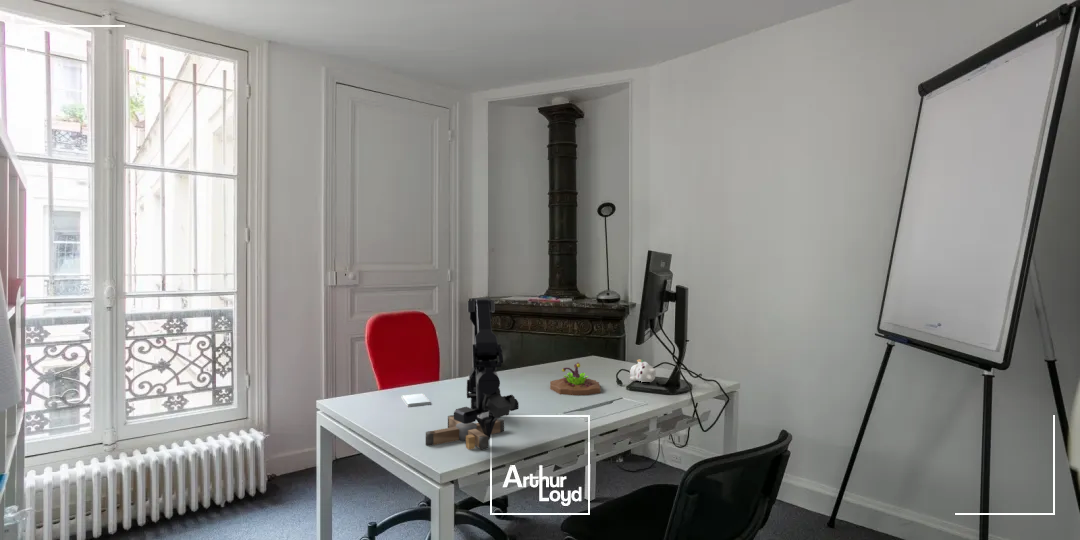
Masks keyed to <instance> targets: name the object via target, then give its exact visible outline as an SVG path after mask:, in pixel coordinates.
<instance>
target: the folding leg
mask: <svg viewBox="0 0 1080 540" xmlns="http://www.w3.org/2000/svg"><path fill="white" fill-rule="evenodd" d="M468 435H473V436H475V447H477V448H478V449H480V450H488V449H490V448H489V443H490V439H489V436H487V435H485V434H483V433H482V432H480V431H478V430H477V429H472V430H468Z"/></svg>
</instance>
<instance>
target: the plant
mask: <svg viewBox="0 0 1080 540" xmlns="http://www.w3.org/2000/svg"><path fill="white" fill-rule="evenodd" d="M573 365H574V369H575V370H573V369H572V368H570V367H563V368H562V369H561V372H564V373H565V372H566V370H569V371H568V373H566V375H565V374H564V375H563V378H558V379H554V380H550V383H549V385H550V387H549V389H550V390H552V391H553V392H555V393H556V394H558V395H565V396H566V395H567V396H589V395H595V394H601V392H602V391H601V385H600V382H598V381H597V380H595V379H592V378H589V375H586V372H582V373H580V374H579V370H578V368H581V363H580V362H579V361H577V362H576V363H575V364H573ZM585 375H586V376H585Z"/></svg>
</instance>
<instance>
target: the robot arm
mask: <svg viewBox="0 0 1080 540" xmlns="http://www.w3.org/2000/svg"><path fill="white" fill-rule="evenodd" d="M495 304H496V303H495V300H492V299H491V298H490V297H471V298H470V300H467V306H466V307H467V311H466V312H467V313H469V320H470V322H471V323H472V324H473V343H472V344H471V353H472V367H471V369H470V371H469V372H468V379H466V398H467V399H470V407H468V406H464V407H459V408H455V410H454V412H453V415H454V420H457V421H459V422H462V423H464V424H468V423H471V422H473V423H476V421H477V423H479V425H480V427H481V429H482V431H483V433H484V434H485V435H487V436H489V440H490V438H491V435H492V434H491V433H492V430H493V427H494V424H495V422H496V420H497V419H501V417H504V416H509V415H510V412H513V411H517V410H519V408H520V407H519V401H518V400H517V398H515V396H514V395H513V394H509V395H504V396H502V394H501V390H500V385H501V381H500V377H499V375H498V373H497V368H500V367H501V368H502V363H503V362H504V356H503V355H504V354H503V348H502V346H501V344H500V343H498V336H497V335H496V334H495V333H494V332H493V328H492V327H493V326H492V319H493V313H495V311H496V309H495V306H496V305H495Z"/></svg>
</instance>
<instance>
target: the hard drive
mask: <svg viewBox="0 0 1080 540" xmlns="http://www.w3.org/2000/svg"><path fill="white" fill-rule="evenodd" d="M401 399H402V401H403V403H404V404H405V405H406V406H407V407H408V408H411V407H419V406H428V405H430V406H431V405H432V401H431V400H430V399H429V398H428V397H427V396H426V395H425V393H413V394H405V395H404V394H403V395H401Z"/></svg>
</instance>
